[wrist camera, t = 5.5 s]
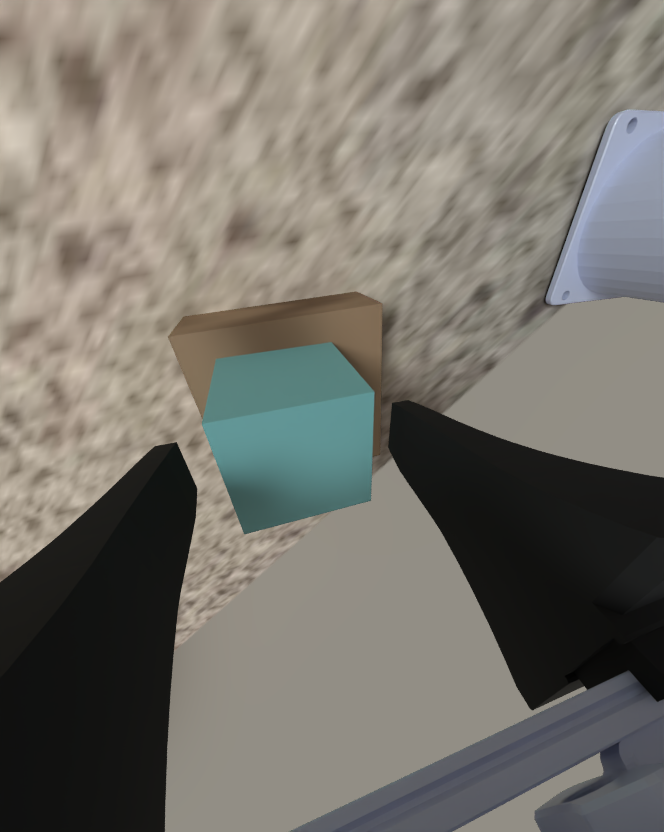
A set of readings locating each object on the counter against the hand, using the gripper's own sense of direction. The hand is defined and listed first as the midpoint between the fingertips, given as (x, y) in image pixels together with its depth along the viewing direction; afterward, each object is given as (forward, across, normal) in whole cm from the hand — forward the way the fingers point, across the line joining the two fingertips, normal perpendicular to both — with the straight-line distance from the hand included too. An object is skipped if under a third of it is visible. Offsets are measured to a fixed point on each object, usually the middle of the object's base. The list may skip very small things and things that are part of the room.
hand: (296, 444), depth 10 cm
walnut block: (+7, -1, 0) cm, 7 cm away
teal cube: (+3, 0, 0) cm, 3 cm away
